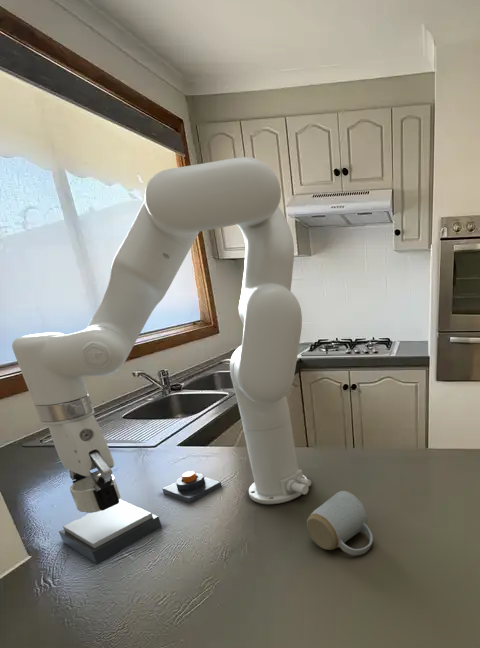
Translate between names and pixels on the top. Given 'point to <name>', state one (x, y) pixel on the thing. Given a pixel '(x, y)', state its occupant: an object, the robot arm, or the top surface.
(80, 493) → the white cup
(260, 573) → the top surface
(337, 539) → the ceramic mug
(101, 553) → the scale
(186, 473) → the button
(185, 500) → the pad
